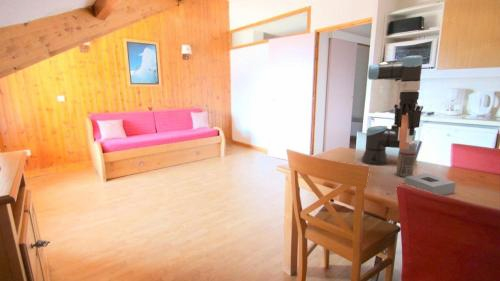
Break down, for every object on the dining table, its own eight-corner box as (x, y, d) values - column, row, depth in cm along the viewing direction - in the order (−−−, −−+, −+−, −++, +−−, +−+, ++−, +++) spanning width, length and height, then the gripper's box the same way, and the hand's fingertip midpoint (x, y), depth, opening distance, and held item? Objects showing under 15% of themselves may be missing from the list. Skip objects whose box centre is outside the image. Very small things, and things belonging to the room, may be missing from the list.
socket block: (404, 186, 126) (405, 176, 125) (425, 182, 130) (426, 173, 129) (431, 197, 113) (433, 186, 112) (454, 192, 117) (455, 182, 116)
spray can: (413, 174, 143) (417, 138, 139) (413, 178, 136) (417, 141, 132) (396, 171, 147) (399, 137, 143) (395, 176, 140) (398, 140, 136)
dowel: (397, 148, 124) (400, 115, 121) (403, 147, 125) (406, 114, 122) (404, 149, 120) (407, 115, 117) (410, 148, 121) (414, 115, 118)
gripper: (388, 91, 124) (384, 138, 129) (420, 91, 108) (414, 145, 113) (400, 90, 126) (396, 137, 131) (433, 91, 110) (427, 144, 115)
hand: (404, 141), depth 122 cm, fingers closed on dowel, 4 cm apart
